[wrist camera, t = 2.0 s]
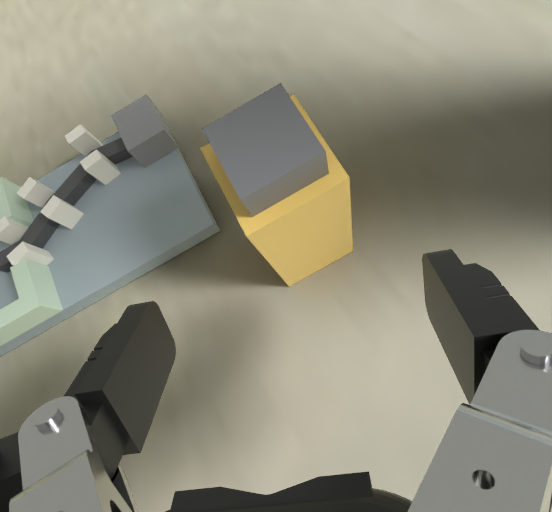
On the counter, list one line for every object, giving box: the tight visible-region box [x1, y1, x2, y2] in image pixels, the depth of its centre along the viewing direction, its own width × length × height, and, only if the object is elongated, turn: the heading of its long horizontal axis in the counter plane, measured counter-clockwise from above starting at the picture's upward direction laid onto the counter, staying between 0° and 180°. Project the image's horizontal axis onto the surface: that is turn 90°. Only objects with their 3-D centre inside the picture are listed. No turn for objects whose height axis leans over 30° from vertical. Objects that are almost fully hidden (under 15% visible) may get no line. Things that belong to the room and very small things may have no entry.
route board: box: [0, 95, 220, 357], centre depth 24 cm, size 19×9×3 cm, turn 118°
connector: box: [200, 83, 353, 287], centre depth 18 cm, size 4×4×10 cm
